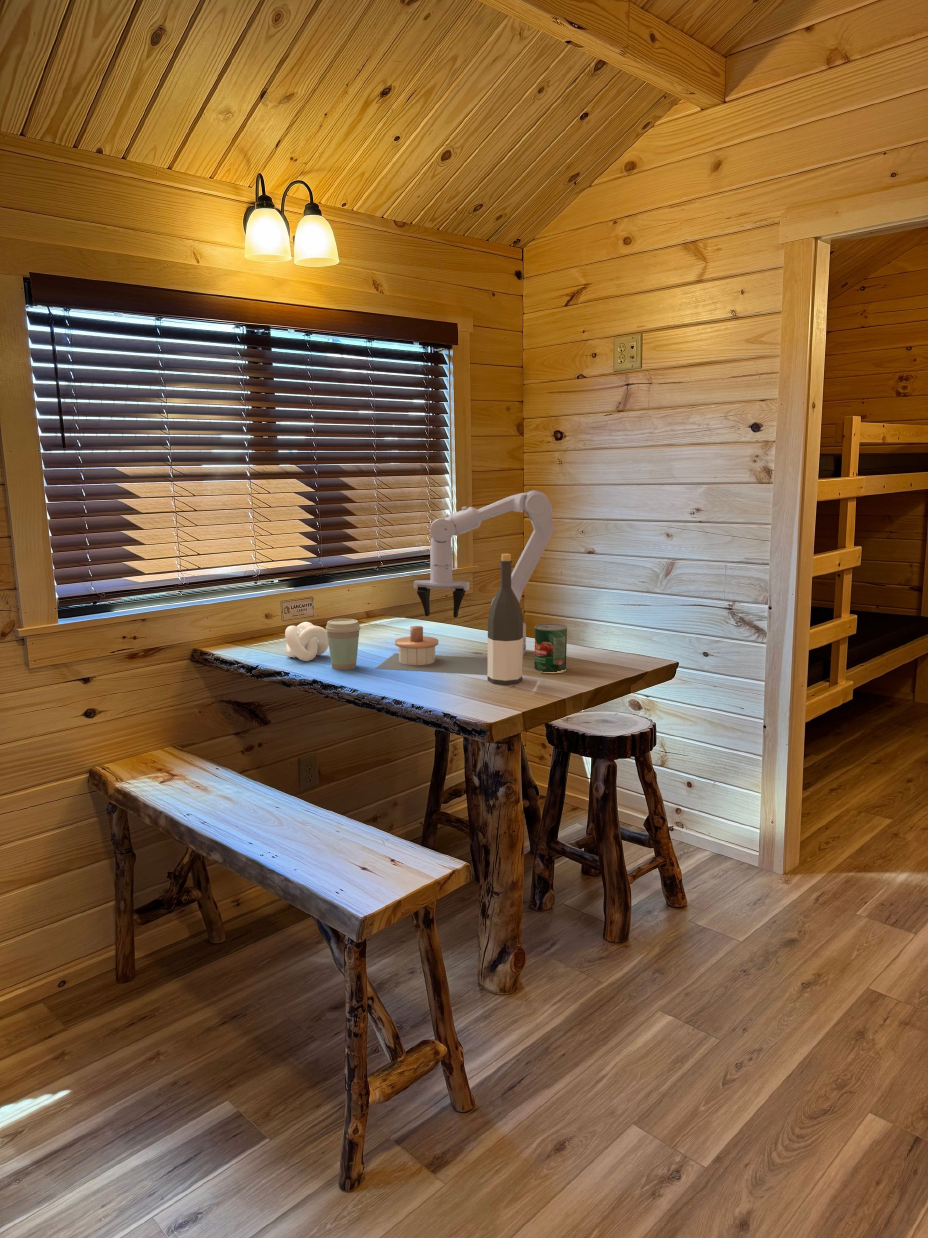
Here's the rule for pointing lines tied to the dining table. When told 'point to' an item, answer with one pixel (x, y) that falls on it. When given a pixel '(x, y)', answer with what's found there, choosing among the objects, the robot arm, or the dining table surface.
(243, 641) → the dining table surface
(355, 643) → the coffee cup
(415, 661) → the bowl
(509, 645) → the wine bottle
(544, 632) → the canned tomato
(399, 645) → the lid
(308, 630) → the white knot sculpture
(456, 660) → the mat
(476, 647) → the dining table surface
